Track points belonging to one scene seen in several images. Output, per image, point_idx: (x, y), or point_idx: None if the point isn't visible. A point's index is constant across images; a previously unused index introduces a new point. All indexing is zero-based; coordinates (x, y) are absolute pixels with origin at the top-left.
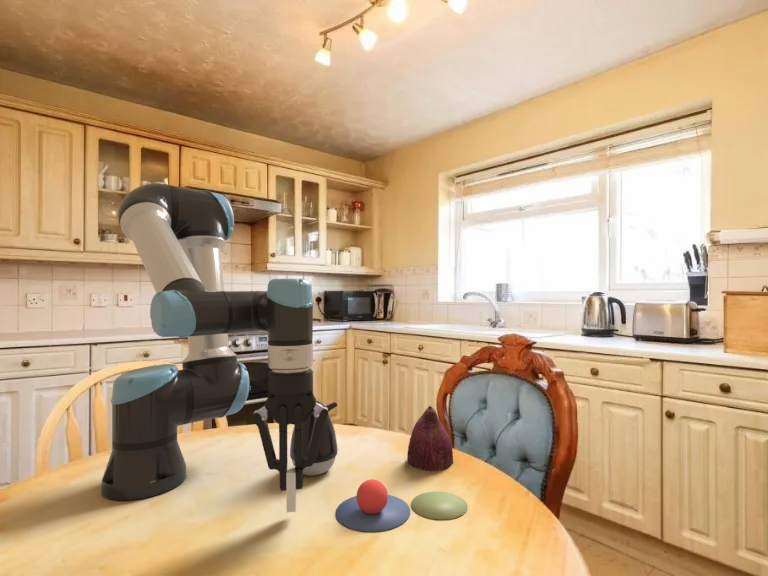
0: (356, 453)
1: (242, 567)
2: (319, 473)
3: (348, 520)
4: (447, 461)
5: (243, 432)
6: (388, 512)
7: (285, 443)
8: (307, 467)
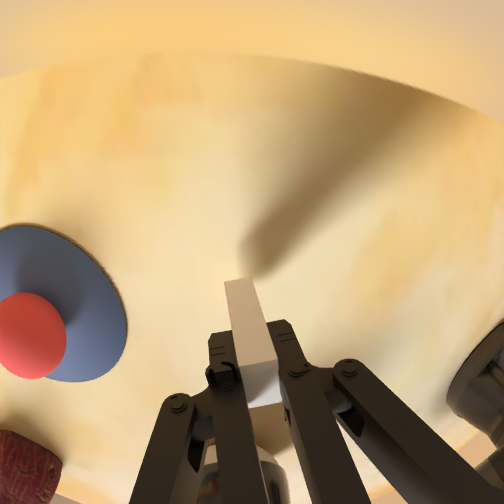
0: None
1: (320, 70)
2: (211, 445)
3: (80, 274)
4: None
5: None
6: None
7: (318, 471)
8: None
